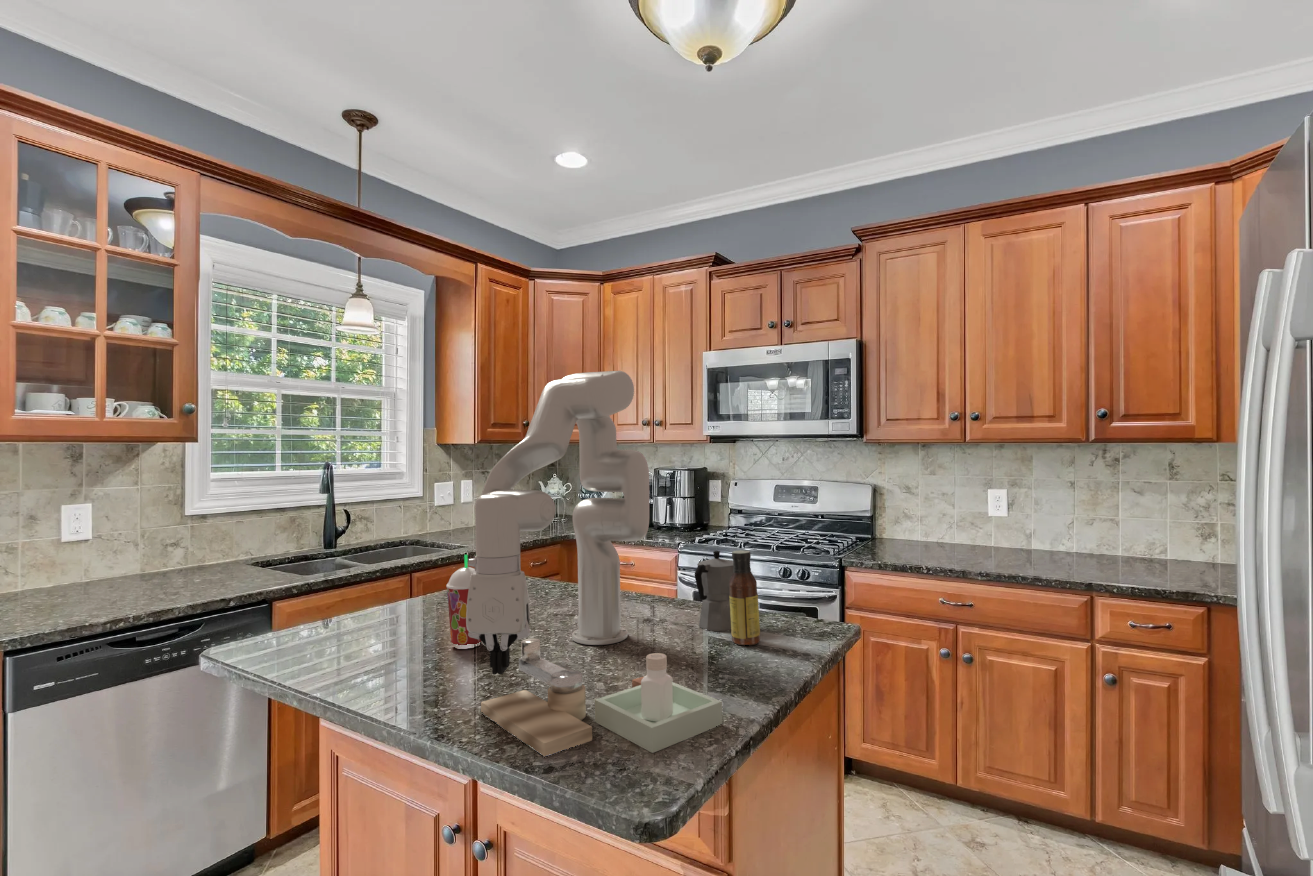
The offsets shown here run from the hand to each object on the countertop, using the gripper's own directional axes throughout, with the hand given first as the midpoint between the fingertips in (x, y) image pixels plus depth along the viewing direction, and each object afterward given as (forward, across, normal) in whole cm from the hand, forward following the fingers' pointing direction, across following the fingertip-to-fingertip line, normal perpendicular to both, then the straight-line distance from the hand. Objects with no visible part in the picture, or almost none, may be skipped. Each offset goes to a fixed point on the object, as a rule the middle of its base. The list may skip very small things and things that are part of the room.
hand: (499, 671), depth 112 cm
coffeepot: (+5, +37, +46) cm, 59 cm away
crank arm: (0, +10, -3) cm, 10 cm away
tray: (+5, +28, -9) cm, 30 cm away
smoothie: (+5, -17, +29) cm, 34 cm away
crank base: (+5, +16, -5) cm, 17 cm away
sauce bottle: (+5, +44, +34) cm, 55 cm away
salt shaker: (+4, +28, -9) cm, 30 cm away
